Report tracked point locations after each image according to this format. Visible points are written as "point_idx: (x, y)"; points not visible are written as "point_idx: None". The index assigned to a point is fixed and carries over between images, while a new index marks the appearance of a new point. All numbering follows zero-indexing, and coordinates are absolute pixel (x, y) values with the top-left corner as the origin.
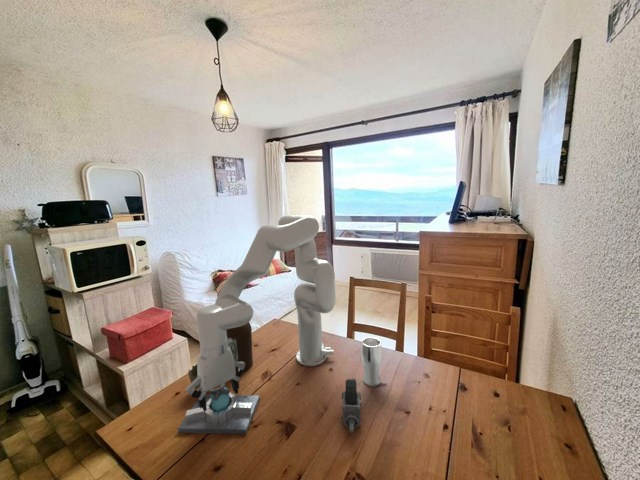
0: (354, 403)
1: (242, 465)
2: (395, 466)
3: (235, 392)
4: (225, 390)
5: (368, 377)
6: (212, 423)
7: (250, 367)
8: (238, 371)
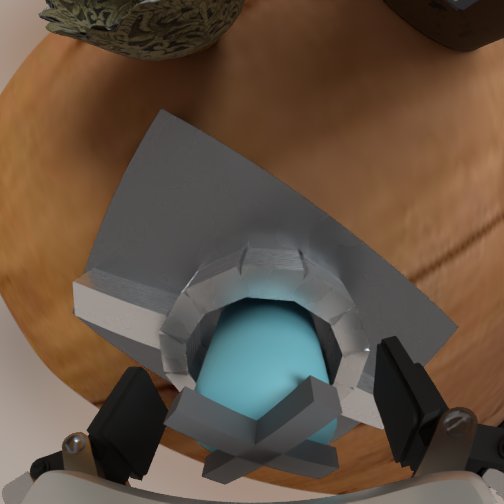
0: None
1: (276, 476)
2: None
3: (375, 397)
4: (303, 471)
5: None
6: None
7: (477, 48)
8: (486, 474)
